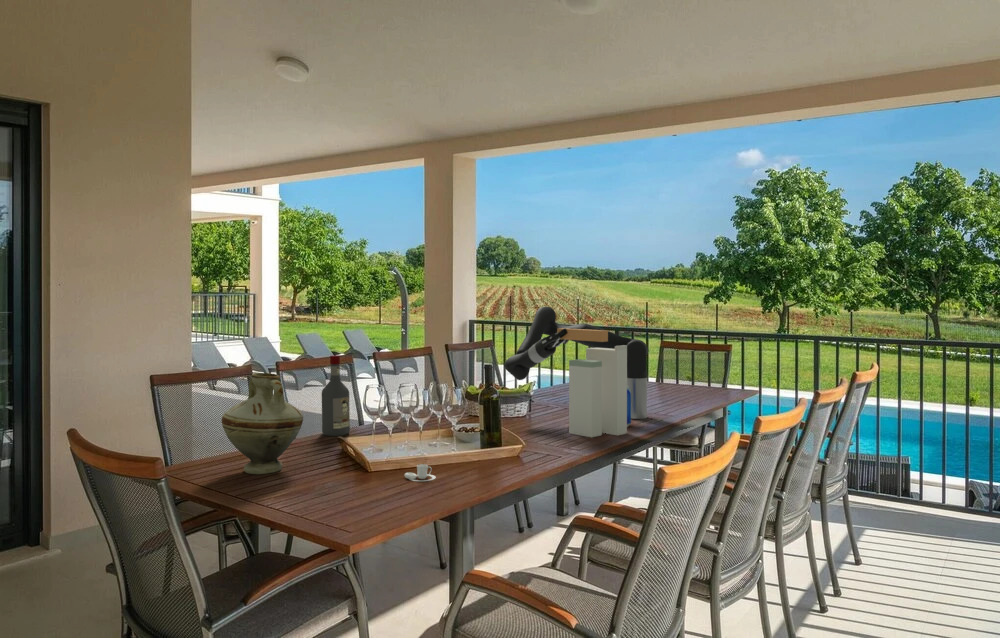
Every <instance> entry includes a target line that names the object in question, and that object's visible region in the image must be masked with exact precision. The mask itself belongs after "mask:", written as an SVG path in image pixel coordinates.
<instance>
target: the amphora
mask: <svg viewBox="0 0 1000 638" xmlns="http://www.w3.org/2000/svg"><path fill="white" fill-rule="evenodd" d="M280 378H281V376H280V375H279V374H276V373H270V372H268V373H267V372H255V373H252V374H250V380H249V382H248V397H247V399H246V400H243V401H241V402H239V403H237V404H235V405H233V406H232V407H230V408H229V409H228V410H226V411H225V412H224V413H223V414H222V417H221V424H222V425H221V426H222V429H223V431H224V433H225V435H226V437H227V439H228V440H229V442H230V443H231V444H232V445H233V446H234V447H235V449H237V451H239V452H240V453H241V454H242V455H243V456H244V457H246V458H248V460H250V462H247V463H246V464H245V465H244V466H243V471H244V472H245V473H246V474H249V475H250V474H251V475H266V474H273V473H277V472H279V471H281V470H282V469H283V463H282V462H281V461H280V460H278V459H279V457H281V456H282V455H283V454H284V453H285V451H286V450H287V449H288V448H289V447H290V445H291V444H292V443H293V442H294V441H295V439H296V438H297V436H298V434H299V432H300V430H301V429H302V425H303V421H304V414H303V412H302V411H301V410H300V409H299V408H297V407H296V406H294V405H292V404H291V403H289V402H287V401H285V399H284V387H283V384H282V382H281V381H280Z"/></svg>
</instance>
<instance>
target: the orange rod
mask: <svg viewBox="0 0 1000 638" xmlns="http://www.w3.org/2000/svg"><path fill="white" fill-rule="evenodd" d="M563 329H565V328H560V329H557V333H559V332H560V331H561V330H563ZM566 330H567V332H568V333H567V334H566V335H565V336H563V337H562V338H561V340H562V339H566V340H569V341H570V340H581V341H597V342H606V341H608V331H609V330H608V329H607V330H606V329H604V330H588V329H568V328H566Z"/></svg>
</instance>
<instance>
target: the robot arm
mask: <svg viewBox="0 0 1000 638" xmlns="http://www.w3.org/2000/svg"><path fill="white" fill-rule="evenodd" d="M556 315H557V314H556V311H555V309H554V308H553V307H550V306H547V305H546V306H541V307H539V308H538V309H537V310H536V312H535V315H534V319H533V320H532V324H530V325H531V326H530V328H529V330H528V332H527V334H526V335H525V337H524V338H523V341H522V343H521V344H520V346H519V347H518V349H517V351H516V353H515V354H514V355H511V356H509V357H508V358H507V359H506V360H505V362H504V368H505V370H506V371H507V372H508V373H509V374H510V375H512V377H513V378H515V379H517V381H523V380H525V379H527V377H528V376H529V373H530V370H531V368H534V367H535V366H537V365H538V364H540V363H541V362H544V361H545V360H546V359H548V358H549V357H551V356H552V355H554V354H555V353H556V351H557V348H559V346H561V345H562V344H564V345H566V344H567V343H568V342H569V341H571V342H574V343H577V344H580V345H583V346H586V347H588V348H610V349H615V346H622V345H627V386H629V389H630V391H631V420H632V419H634V420H644V419H647V418H648V368H647V355H648V353H649V348H648V345H647V344H646V343H645V342H644V341H643V340H641V339H636V338H631V337H626V336H621V335H618V334H616V333H613V332H611V331H610V330H607V331H608V341H606V342H597V341H581V340H566V339H561V338H562V337H563V336H565V335H566V334H567V333H568V332H567V330H566V328H568V329H588V330H605V329H604V328H601V327H598V326H595V325H593V324H592V325H591V324H588V323H579V324H578V323H577V324H573V325H572V324H571V325H565V324H561V323H558V322H556V319H557V316H556ZM560 328H565V329H563V330H561V331H560V332H559V333H557V329H560ZM543 335H546V337H545V336H544V337H543Z"/></svg>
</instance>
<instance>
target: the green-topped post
mask: <svg viewBox="0 0 1000 638" xmlns="http://www.w3.org/2000/svg"><path fill="white" fill-rule="evenodd" d="M568 407H569V408H568V414H569V415H568V420H569V421H568V425H569V426H568V427H569V428H568V429H569V430H568V433H569V434H571V435H575V436H576V435H577V436H580V437H581V436H583V437H587V438H595V437H596V438H597V437H600V436H602V435H603V433H602V361H594V360H586V359H583V358H582V359H580V358H579V359H577V358H576V359H570V360H568Z"/></svg>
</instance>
